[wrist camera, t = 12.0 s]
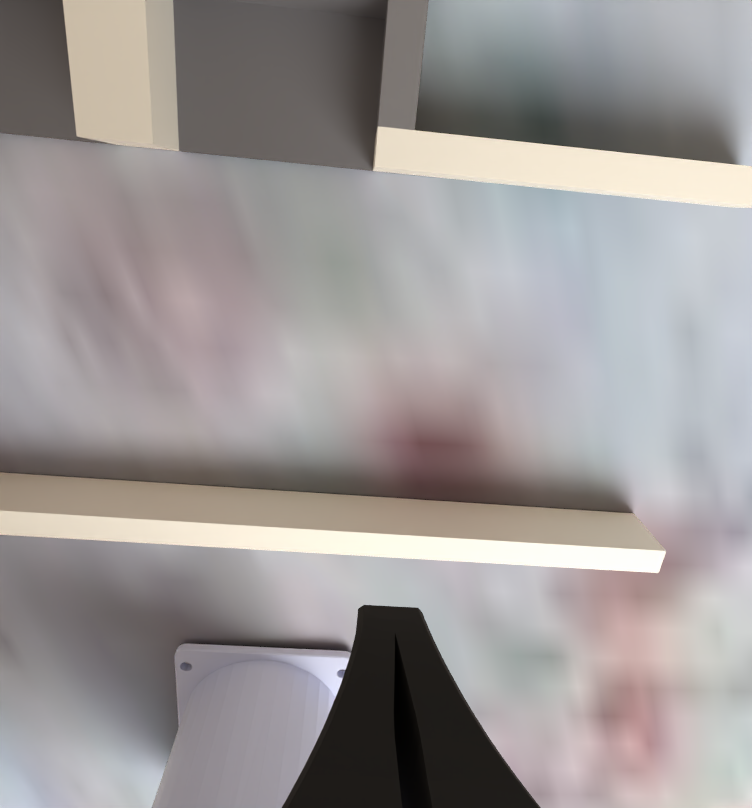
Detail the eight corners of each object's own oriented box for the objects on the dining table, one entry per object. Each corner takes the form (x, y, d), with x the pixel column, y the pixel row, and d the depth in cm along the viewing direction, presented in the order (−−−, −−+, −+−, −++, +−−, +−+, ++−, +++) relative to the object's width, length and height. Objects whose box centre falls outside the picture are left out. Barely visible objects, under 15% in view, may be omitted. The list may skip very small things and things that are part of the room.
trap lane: (627, 533, 22) (673, 591, 19) (-255, 478, 20) (-373, 532, 17) (786, 29, 16) (896, -13, 13) (-492, -129, 14) (-756, -229, 10)
